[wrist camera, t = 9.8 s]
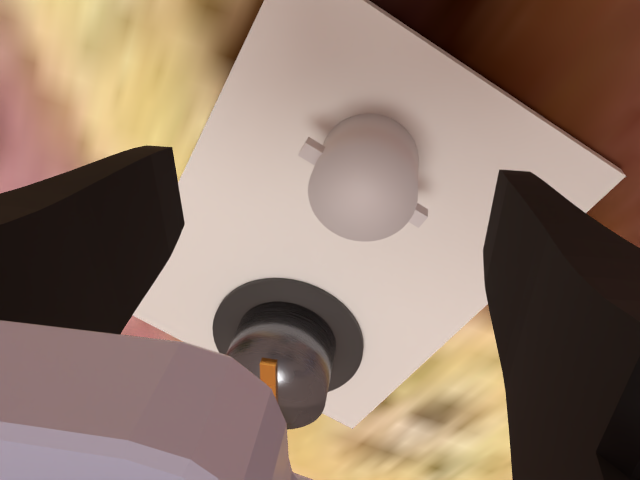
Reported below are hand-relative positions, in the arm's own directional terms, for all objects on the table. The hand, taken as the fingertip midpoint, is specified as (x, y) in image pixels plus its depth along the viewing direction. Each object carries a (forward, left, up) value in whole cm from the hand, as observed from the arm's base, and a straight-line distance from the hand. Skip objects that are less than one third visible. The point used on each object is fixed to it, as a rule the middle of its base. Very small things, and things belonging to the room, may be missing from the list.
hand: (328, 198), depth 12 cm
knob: (-4, +14, -9) cm, 17 cm away
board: (-3, +8, -10) cm, 13 cm away
